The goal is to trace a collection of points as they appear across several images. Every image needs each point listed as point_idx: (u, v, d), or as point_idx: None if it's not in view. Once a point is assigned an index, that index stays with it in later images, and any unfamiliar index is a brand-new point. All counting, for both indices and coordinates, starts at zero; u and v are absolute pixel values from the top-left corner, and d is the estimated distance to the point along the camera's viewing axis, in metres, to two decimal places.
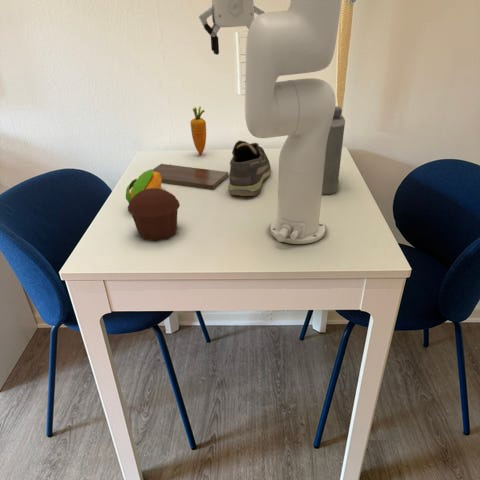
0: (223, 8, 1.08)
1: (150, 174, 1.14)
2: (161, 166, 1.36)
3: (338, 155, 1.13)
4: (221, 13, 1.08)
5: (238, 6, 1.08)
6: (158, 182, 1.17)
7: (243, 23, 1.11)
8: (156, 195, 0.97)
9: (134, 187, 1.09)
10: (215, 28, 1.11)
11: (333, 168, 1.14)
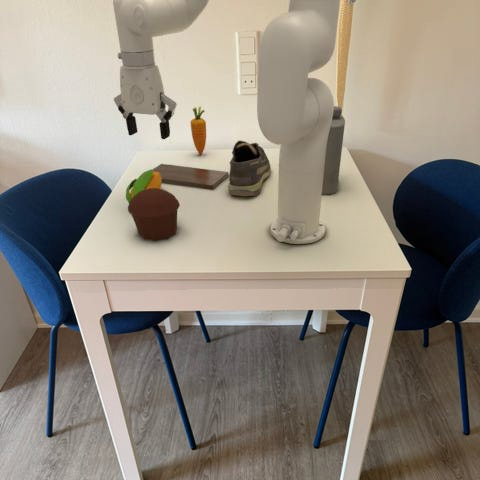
0: (126, 95, 1.06)
1: (150, 174, 1.14)
2: (161, 166, 1.36)
3: (338, 155, 1.13)
4: (125, 99, 1.07)
5: (139, 95, 1.05)
6: (158, 182, 1.17)
7: (147, 112, 1.06)
8: (156, 195, 0.97)
9: (134, 187, 1.09)
10: (125, 111, 1.10)
11: (333, 168, 1.14)
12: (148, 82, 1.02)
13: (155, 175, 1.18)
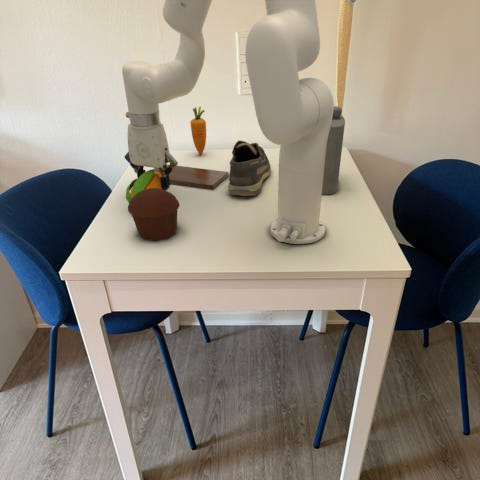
0: (133, 150, 1.14)
1: (150, 174, 1.14)
2: None
3: (338, 155, 1.13)
4: (132, 153, 1.15)
5: (145, 151, 1.13)
6: (158, 182, 1.17)
7: (152, 165, 1.15)
8: (156, 195, 0.97)
9: (134, 187, 1.09)
10: (136, 166, 1.18)
11: (333, 168, 1.14)
12: (154, 140, 1.10)
13: (156, 175, 1.18)
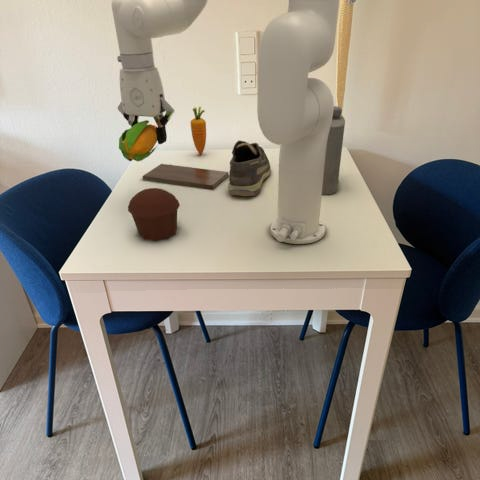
0: (126, 98, 1.06)
1: (145, 123, 1.06)
2: (161, 166, 1.36)
3: (338, 155, 1.13)
4: (125, 102, 1.07)
5: (139, 97, 1.04)
6: (154, 133, 1.09)
7: (147, 114, 1.06)
8: (156, 195, 0.97)
9: (127, 134, 1.01)
10: (130, 117, 1.10)
11: (333, 168, 1.14)
12: (147, 84, 1.02)
13: (151, 126, 1.10)
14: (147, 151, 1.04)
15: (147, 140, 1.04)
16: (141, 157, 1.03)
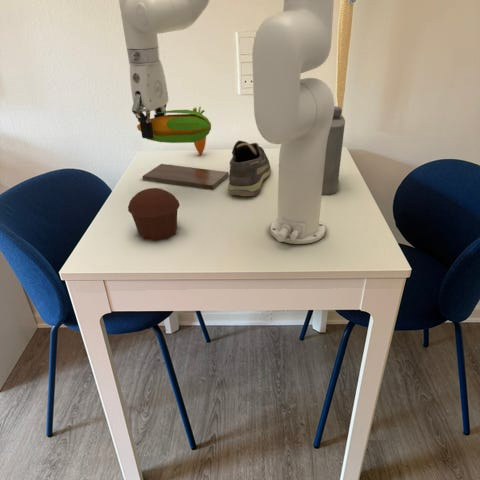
0: (151, 93, 1.07)
1: None
2: (161, 166, 1.36)
3: (338, 155, 1.13)
4: (151, 98, 1.07)
5: (159, 88, 1.10)
6: None
7: (163, 103, 1.13)
8: (156, 195, 0.97)
9: (198, 114, 1.11)
10: (148, 115, 1.10)
11: (333, 168, 1.14)
12: (163, 73, 1.10)
13: None
14: None
15: None
16: None
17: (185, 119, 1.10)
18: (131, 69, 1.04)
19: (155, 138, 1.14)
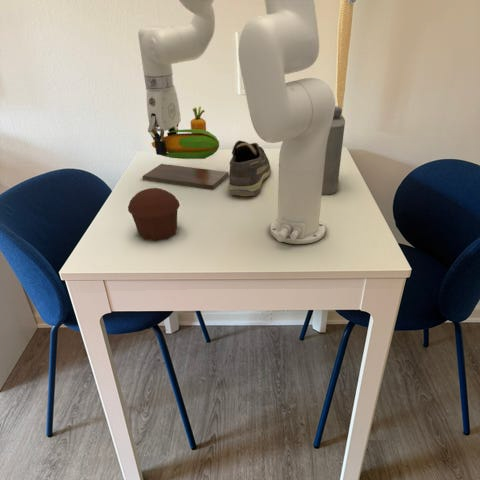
0: (166, 115, 1.18)
1: None
2: (161, 166, 1.36)
3: (338, 155, 1.13)
4: (165, 119, 1.18)
5: (173, 110, 1.21)
6: None
7: (176, 123, 1.24)
8: (156, 195, 0.97)
9: (207, 134, 1.23)
10: (162, 134, 1.21)
11: (333, 168, 1.14)
12: (176, 96, 1.21)
13: None
14: None
15: None
16: None
17: (196, 138, 1.21)
18: (148, 94, 1.15)
19: (168, 154, 1.25)
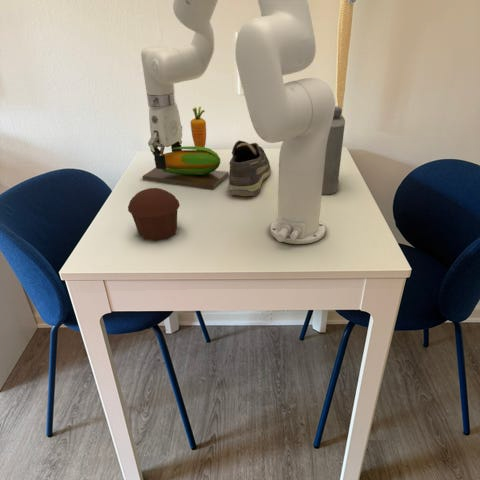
0: (168, 132, 1.21)
1: None
2: None
3: (338, 155, 1.13)
4: (167, 136, 1.21)
5: (174, 127, 1.24)
6: None
7: (178, 139, 1.27)
8: (156, 195, 0.97)
9: (209, 151, 1.26)
10: (162, 149, 1.23)
11: (333, 168, 1.14)
12: (178, 113, 1.24)
13: None
14: None
15: None
16: None
17: (197, 155, 1.24)
18: (150, 112, 1.18)
19: (170, 170, 1.28)
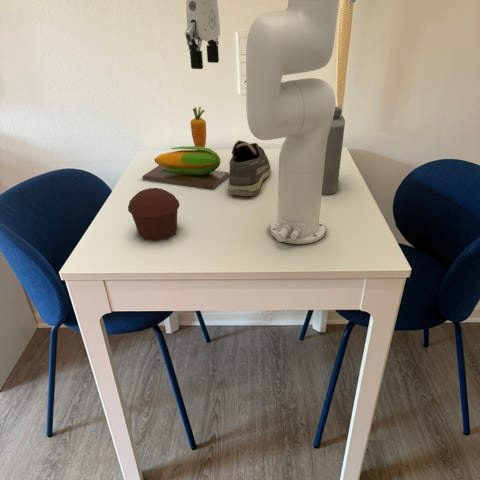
0: (206, 22, 1.08)
1: None
2: (161, 166, 1.36)
3: (338, 155, 1.13)
4: (206, 27, 1.08)
5: (213, 19, 1.11)
6: None
7: (216, 36, 1.14)
8: (156, 195, 0.97)
9: (209, 151, 1.26)
10: (199, 43, 1.10)
11: (333, 168, 1.14)
12: (216, 4, 1.11)
13: None
14: None
15: None
16: None
17: (197, 155, 1.24)
18: None
19: (170, 170, 1.28)
